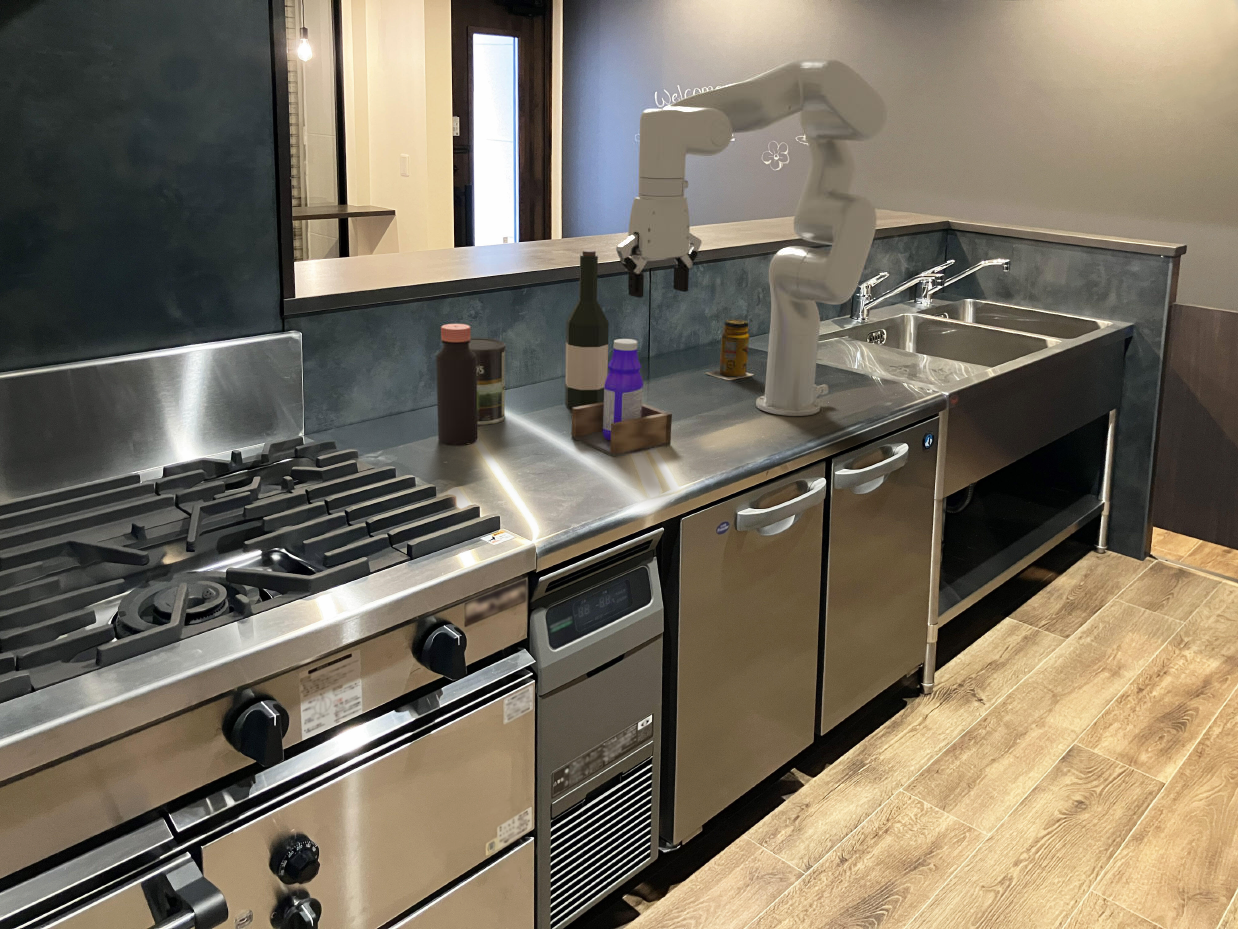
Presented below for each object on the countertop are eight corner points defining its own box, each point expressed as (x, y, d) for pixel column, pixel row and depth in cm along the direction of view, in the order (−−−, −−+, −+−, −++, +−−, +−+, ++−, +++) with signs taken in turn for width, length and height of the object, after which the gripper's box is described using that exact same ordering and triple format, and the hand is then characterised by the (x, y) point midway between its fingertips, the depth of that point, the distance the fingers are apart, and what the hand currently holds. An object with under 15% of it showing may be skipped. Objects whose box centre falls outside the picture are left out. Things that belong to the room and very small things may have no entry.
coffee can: (489, 428, 188) (489, 352, 183) (439, 420, 191) (438, 345, 187) (515, 414, 197) (515, 340, 192) (467, 407, 200) (466, 335, 196)
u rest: (626, 427, 191) (627, 397, 189) (670, 444, 182) (671, 414, 180) (571, 438, 184) (572, 407, 182) (614, 457, 175) (615, 425, 173)
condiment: (754, 375, 232) (758, 322, 228) (729, 381, 226) (733, 326, 222) (729, 368, 237) (732, 316, 233) (704, 374, 231) (707, 321, 227)
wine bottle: (601, 412, 200) (606, 255, 190) (559, 409, 201) (561, 252, 191) (610, 401, 207) (615, 249, 198) (570, 398, 209) (572, 246, 199)
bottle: (620, 430, 187) (623, 335, 182) (646, 436, 184) (650, 339, 179) (596, 439, 182) (599, 341, 176) (623, 446, 179) (626, 346, 173)
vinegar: (443, 447, 177) (440, 331, 170) (434, 436, 183) (430, 323, 176) (482, 443, 179) (481, 329, 173) (471, 432, 185) (469, 321, 179)
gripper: (687, 184, 177) (683, 285, 183) (605, 189, 167) (604, 295, 173) (716, 188, 171) (711, 291, 177) (633, 193, 162) (631, 302, 167)
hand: (658, 293), depth 175 cm, fingers open, 9 cm apart
